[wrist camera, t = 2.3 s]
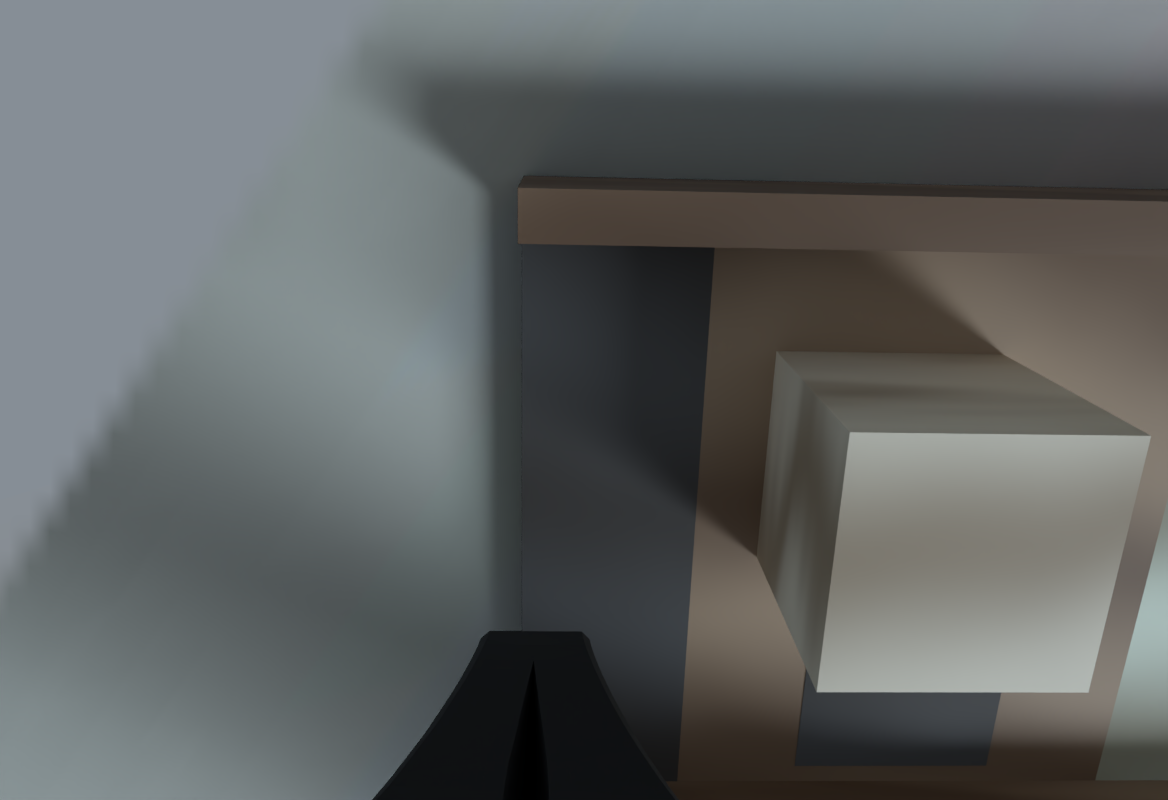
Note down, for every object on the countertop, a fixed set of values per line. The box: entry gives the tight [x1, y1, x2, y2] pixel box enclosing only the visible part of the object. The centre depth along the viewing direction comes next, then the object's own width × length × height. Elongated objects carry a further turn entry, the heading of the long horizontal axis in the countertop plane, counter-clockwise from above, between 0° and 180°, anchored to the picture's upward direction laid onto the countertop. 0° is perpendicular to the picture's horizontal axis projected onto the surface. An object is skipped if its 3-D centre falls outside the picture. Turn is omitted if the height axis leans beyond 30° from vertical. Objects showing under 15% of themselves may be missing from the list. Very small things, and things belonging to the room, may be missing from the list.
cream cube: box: [757, 351, 1151, 693], centre depth 17 cm, size 5×5×5 cm
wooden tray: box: [518, 176, 1168, 800], centre depth 20 cm, size 16×23×3 cm
